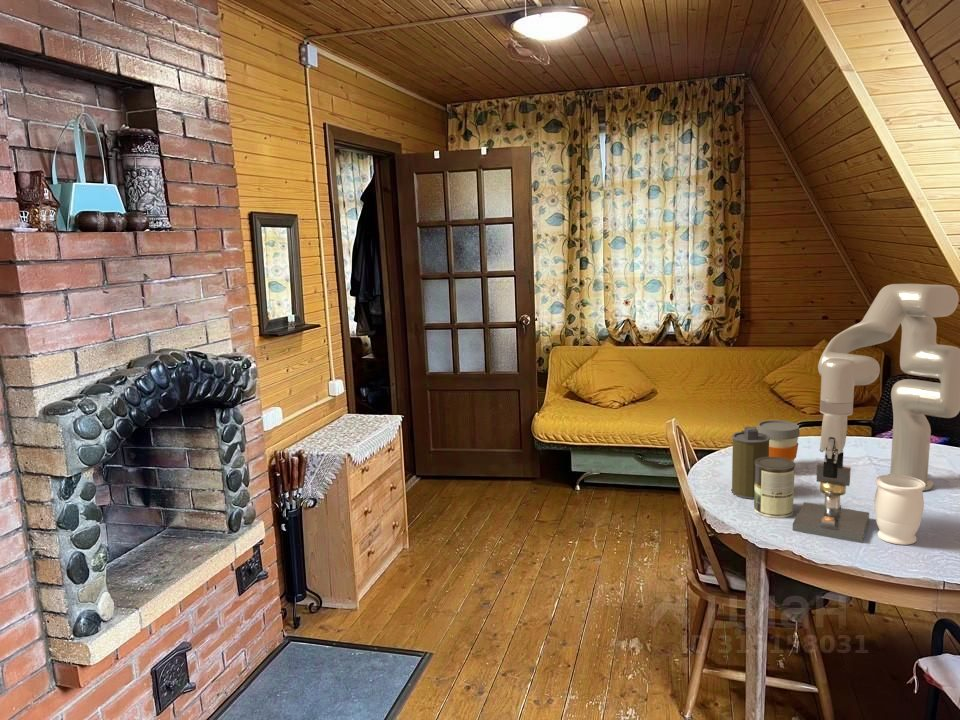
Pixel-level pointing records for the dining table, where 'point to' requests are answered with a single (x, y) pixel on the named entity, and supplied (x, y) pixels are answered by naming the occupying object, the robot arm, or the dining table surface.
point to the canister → (747, 460)
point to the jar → (898, 508)
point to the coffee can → (774, 487)
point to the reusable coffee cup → (781, 438)
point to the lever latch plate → (831, 520)
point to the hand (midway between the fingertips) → (833, 471)
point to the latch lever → (834, 481)
